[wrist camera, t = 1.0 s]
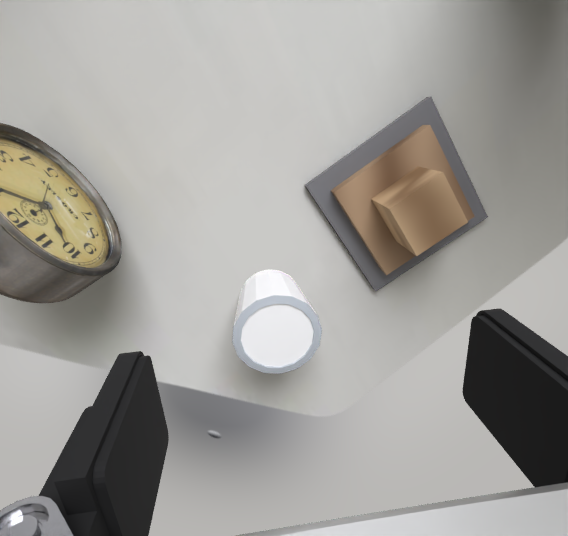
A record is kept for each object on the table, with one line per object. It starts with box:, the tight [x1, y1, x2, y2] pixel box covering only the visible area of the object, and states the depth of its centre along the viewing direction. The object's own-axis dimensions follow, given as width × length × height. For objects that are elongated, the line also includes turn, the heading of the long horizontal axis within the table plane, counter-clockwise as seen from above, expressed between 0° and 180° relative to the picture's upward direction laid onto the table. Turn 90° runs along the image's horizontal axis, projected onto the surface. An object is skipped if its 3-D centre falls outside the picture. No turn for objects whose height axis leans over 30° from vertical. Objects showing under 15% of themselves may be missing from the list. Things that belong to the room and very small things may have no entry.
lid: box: [331, 125, 475, 275], centre depth 30 cm, size 9×9×5 cm
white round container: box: [232, 270, 322, 374], centre depth 32 cm, size 7×7×7 cm
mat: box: [305, 97, 488, 291], centre depth 33 cm, size 12×12×1 cm
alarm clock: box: [0, 123, 122, 303], centre depth 23 cm, size 11×5×16 cm, turn 33°
